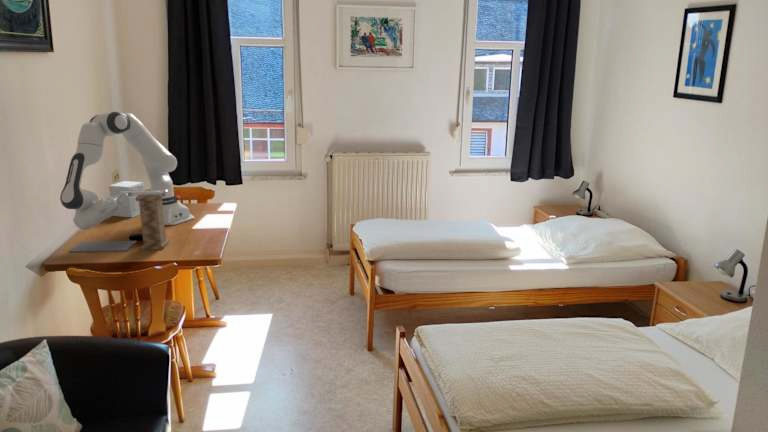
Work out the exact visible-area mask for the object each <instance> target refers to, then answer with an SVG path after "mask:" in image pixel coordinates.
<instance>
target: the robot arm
mask: <svg viewBox="0 0 768 432" xmlns="http://www.w3.org/2000/svg"><path fill="white" fill-rule="evenodd" d="M120 134H121V135H122V136H123V137H124V138H125V139H126V141H128V143H129V144H130V145H131V147H133V149H134V150H135V151H136V152H137V153H139V154H140V155H141V161H142V164H143V165H144V167H145V170H146V173H147V176H148V180H149V183H150V190H166V189H168V190H169V194H168V195H167V196H163V197H162V205H163V215H164V225H165V226H169V225H170V226H175V225H178V224H179V225H180V224H182V223H185V222H187V221H188V222H189V221H191V220H195V216H194V215H193V214H191V212H190V210H189V207H187V206H186V205H185V204H182V203H181V202H180V201H179V200H181V196H180V195H176V194H174V193H175V192H174V184H173V183H174V182H173V180H172V178H171V176H170V174H169V173H171V172H174V171H175V170H176V168H177V167H178V160H177V158H176V156H175V155H173V153H171V152H170V151H169V150H168V149H167V148H166V147H165V146H164V145H163V144H162V143H161V142H160V141H158V140H157V139H156V138H155V136H154V135H153V134H151V132H150V131H149V129H147V127H146V126H145V125H144V124H143V123H142V121H140V119H138V118H137V117H136V116H135V115H134V114H133V113H131V112H123V113H122V112H121V111H108V112H104V113H102V114H96V115H94V116H93V117H92V118H90V120H89V122H86V123H83V124H82V126H81V128H80V131H79V134H78V139H77V147H76V151H75V153H74V155H72V158H71V159H70V162H69V166H68V170H67V174H66V178H65V183H64V186H63V189H62V191H61V193H60V197H59V199H60V203H61V205H62V206H63V207H64V208H66V209H68V210H75V213H74V217H73V220H72V221H73V223H74V225H76V227H78V228H79V229H81V230H89V229H92V228H94V227H96V226H98V225H99V224H101V222H102V221H104V220H108V219H109V218H110V217H113V216H112V215H114V214H116V211H117V209H118V208H119V207H120V205H122V204H123V203H124V202H125V201H127V200H128V199H129V198H130V197H131V196H129V195H128V194H125V195H124V196H120V194H118V195H115V196H113V197H112V196H111V197H110V196H108V197H103V198H102V199H99V197H98V196H97V194H96V193H95V192H94V191H91V190H87V189H82V188H81V183H82V179H83V175H84V171H85V169H86V168H87V167H89V166H93V165H95V164H97V163H99V162H100V161H101V159H102V156H103V153H104V141H105V138H106V137H111V136H114V135H120ZM131 191H135V189H132V190H131Z"/></svg>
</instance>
